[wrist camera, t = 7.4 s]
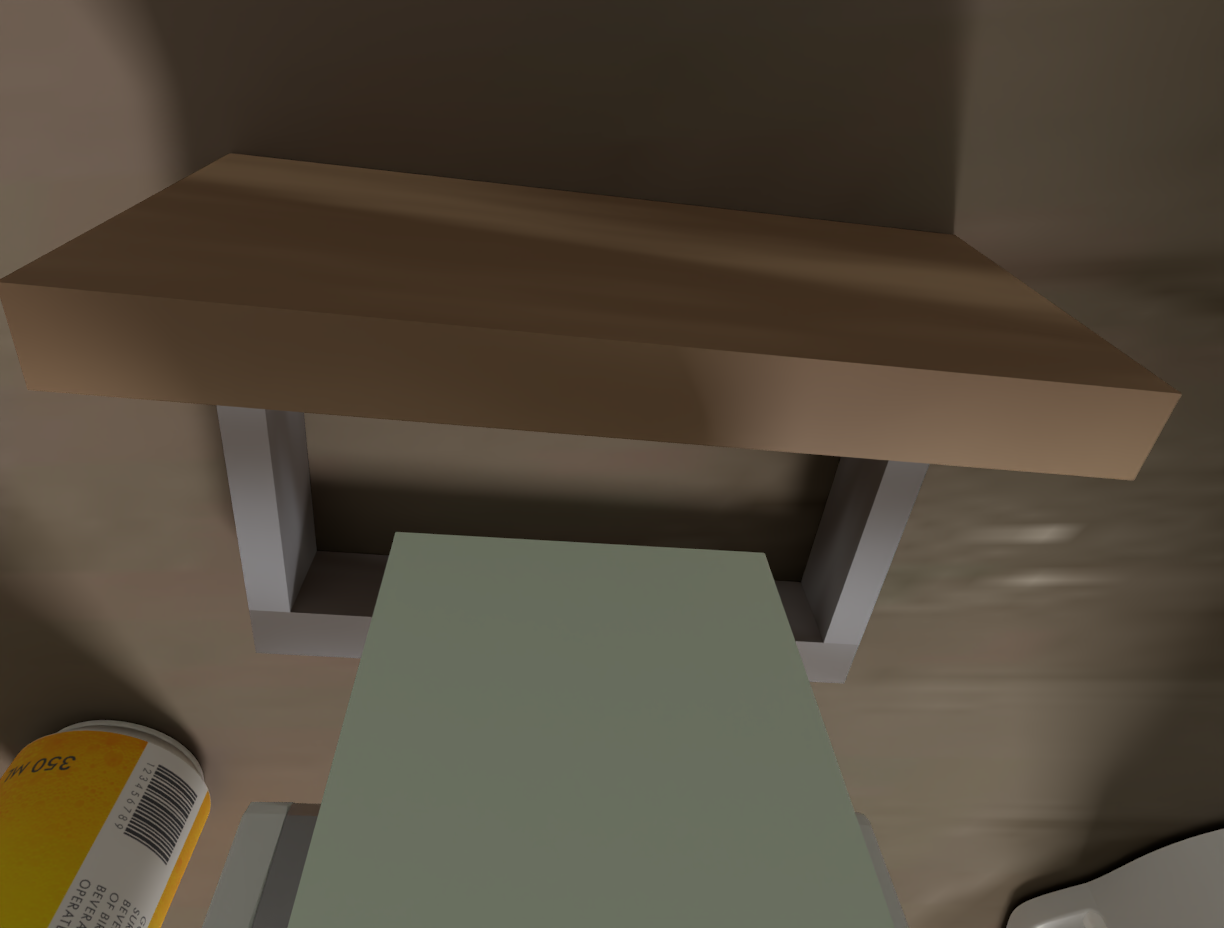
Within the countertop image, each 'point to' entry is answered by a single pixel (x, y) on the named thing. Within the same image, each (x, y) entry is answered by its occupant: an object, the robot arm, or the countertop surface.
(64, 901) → the beer can
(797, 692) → the cabinet block
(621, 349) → the grey and wood frame
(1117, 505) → the countertop surface
